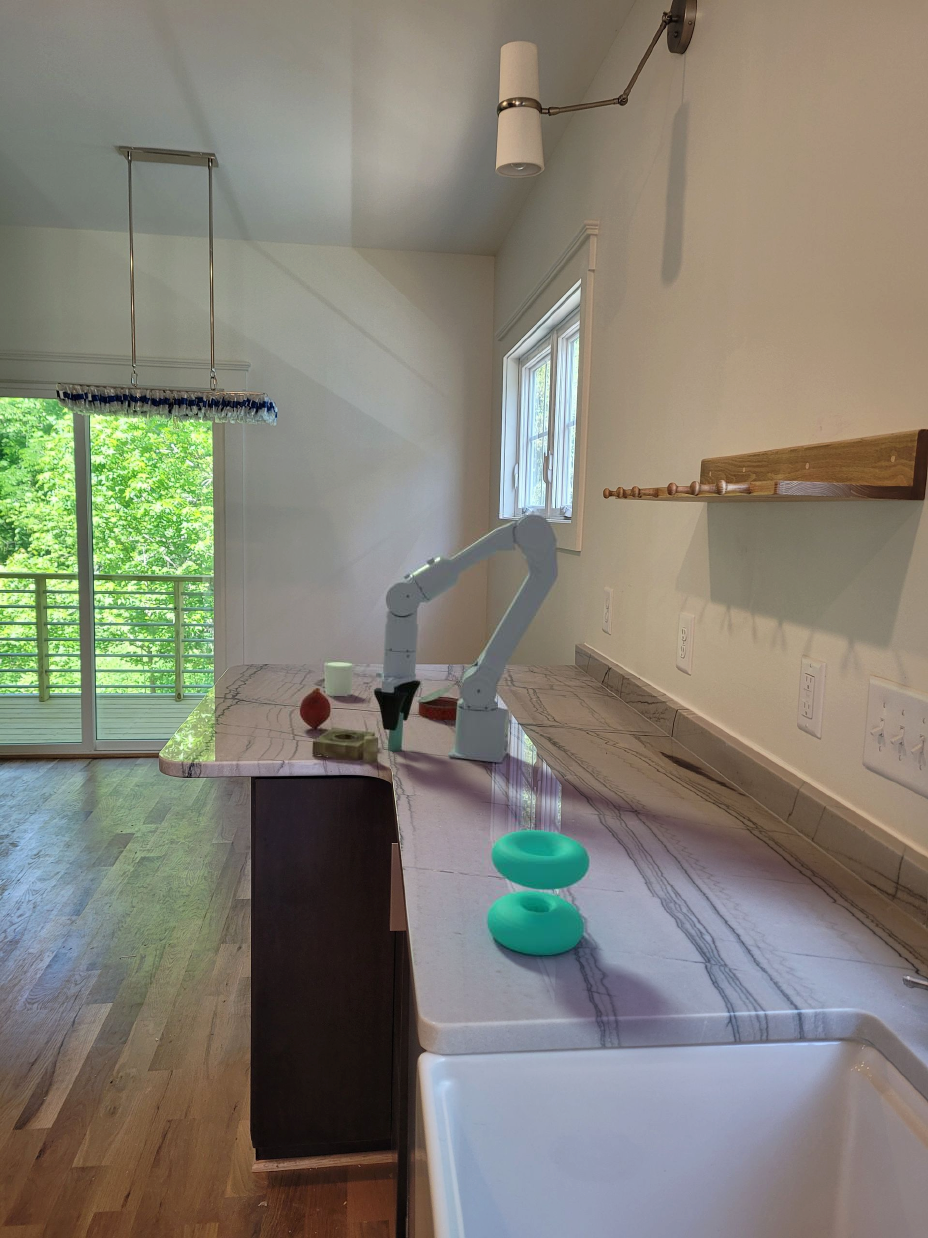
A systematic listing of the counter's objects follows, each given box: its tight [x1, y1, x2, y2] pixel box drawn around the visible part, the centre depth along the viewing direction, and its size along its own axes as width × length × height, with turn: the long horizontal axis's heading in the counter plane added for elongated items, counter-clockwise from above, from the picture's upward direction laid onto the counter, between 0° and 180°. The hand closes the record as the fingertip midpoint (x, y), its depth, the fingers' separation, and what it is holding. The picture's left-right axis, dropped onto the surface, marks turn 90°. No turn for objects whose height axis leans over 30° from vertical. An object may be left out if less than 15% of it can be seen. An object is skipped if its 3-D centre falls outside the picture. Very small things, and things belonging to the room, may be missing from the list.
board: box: [311, 727, 376, 762], centre depth 153 cm, size 8×10×2 cm
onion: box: [299, 686, 332, 729], centre depth 167 cm, size 6×6×8 cm
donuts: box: [486, 829, 590, 956], centre depth 90 cm, size 10×10×10 cm
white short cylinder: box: [323, 661, 355, 697], centre depth 198 cm, size 7×7×7 cm
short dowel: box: [362, 735, 379, 764], centre depth 148 cm, size 2×2×4 cm
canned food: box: [418, 677, 462, 721], centre depth 184 cm, size 11×10×10 cm
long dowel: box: [387, 713, 404, 752], centre depth 156 cm, size 2×2×6 cm
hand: (395, 724), depth 156 cm, fingers open, 7 cm apart
